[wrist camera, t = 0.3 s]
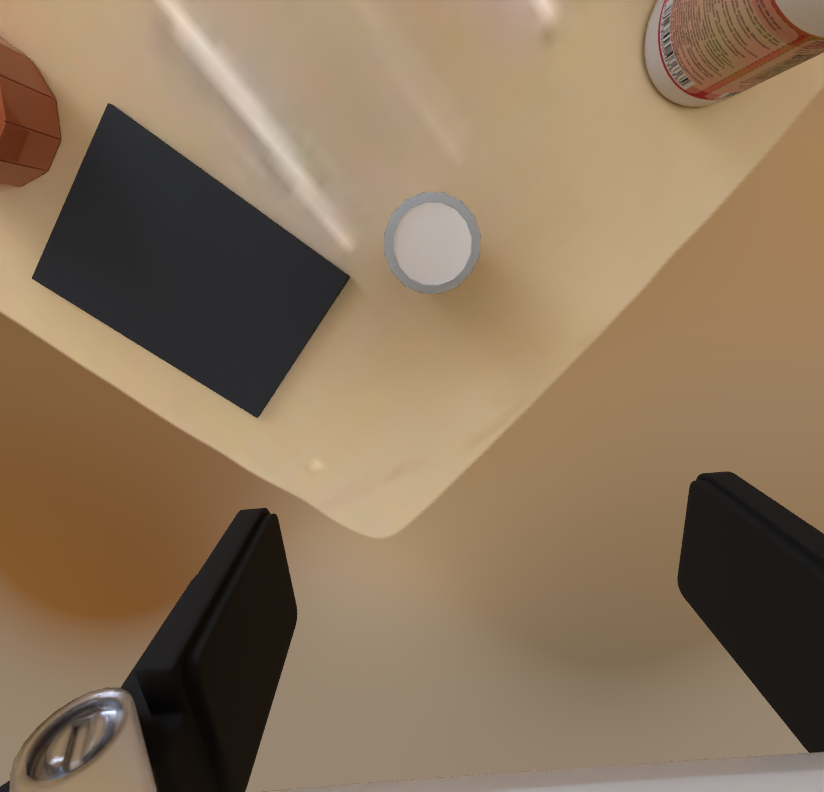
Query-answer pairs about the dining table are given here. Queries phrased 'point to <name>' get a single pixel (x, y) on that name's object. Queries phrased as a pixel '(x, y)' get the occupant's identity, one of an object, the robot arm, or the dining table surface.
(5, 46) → the holder
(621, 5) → the dining table surface
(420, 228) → the white cup
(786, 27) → the fruit juice
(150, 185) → the mat
